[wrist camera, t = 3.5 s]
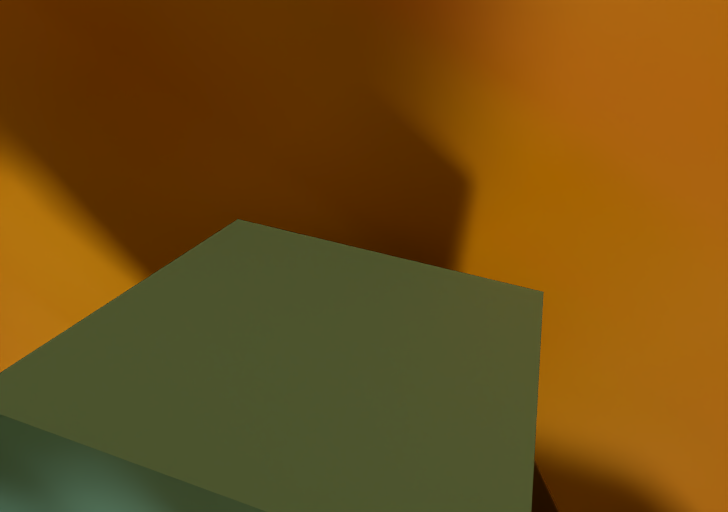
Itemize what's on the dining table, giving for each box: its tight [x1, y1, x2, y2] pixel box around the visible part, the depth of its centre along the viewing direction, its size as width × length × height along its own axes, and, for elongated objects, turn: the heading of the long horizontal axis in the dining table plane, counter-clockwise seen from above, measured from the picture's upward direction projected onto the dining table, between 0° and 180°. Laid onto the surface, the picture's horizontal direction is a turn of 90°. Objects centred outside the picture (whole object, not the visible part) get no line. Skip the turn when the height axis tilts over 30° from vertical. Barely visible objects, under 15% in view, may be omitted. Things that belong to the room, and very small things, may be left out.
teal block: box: [0, 219, 543, 512], centre depth 8 cm, size 5×5×5 cm
